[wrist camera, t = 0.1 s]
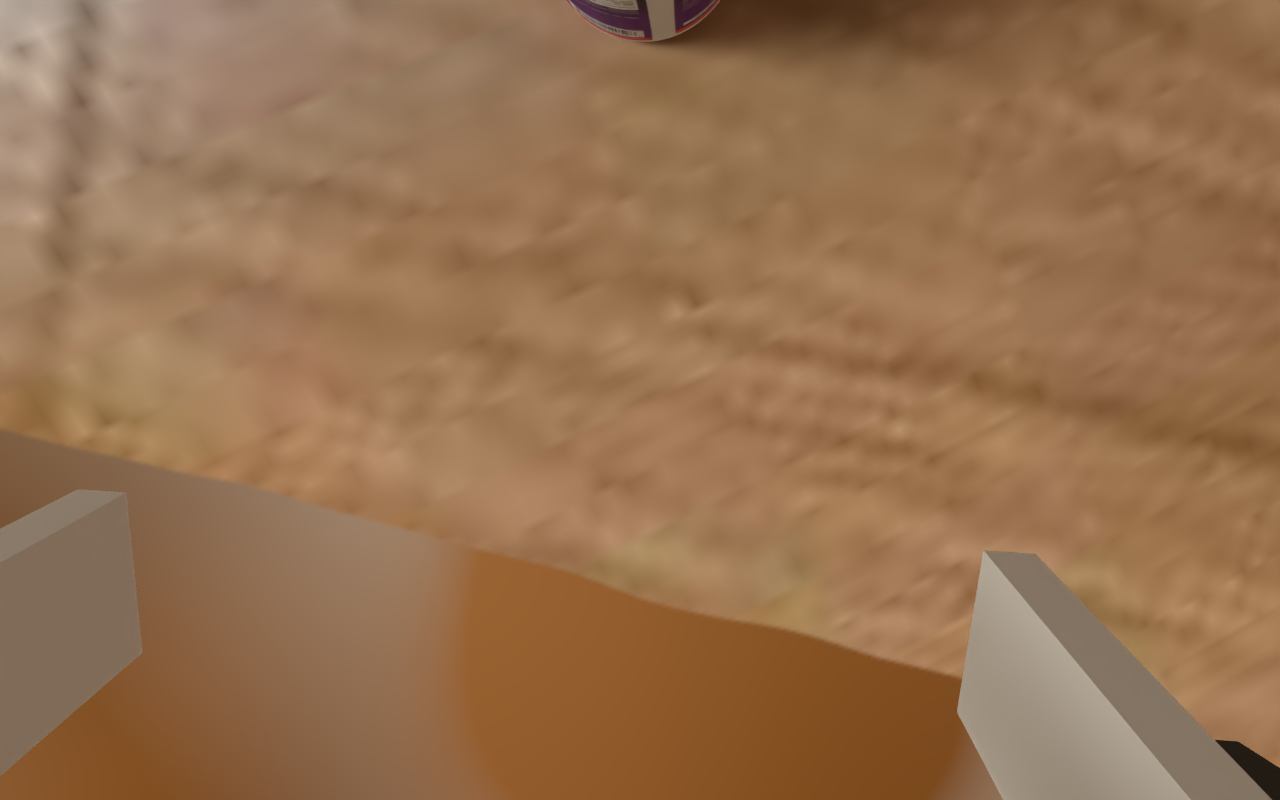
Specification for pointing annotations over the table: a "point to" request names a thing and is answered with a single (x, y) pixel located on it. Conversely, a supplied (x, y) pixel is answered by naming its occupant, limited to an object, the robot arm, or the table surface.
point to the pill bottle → (643, 17)
